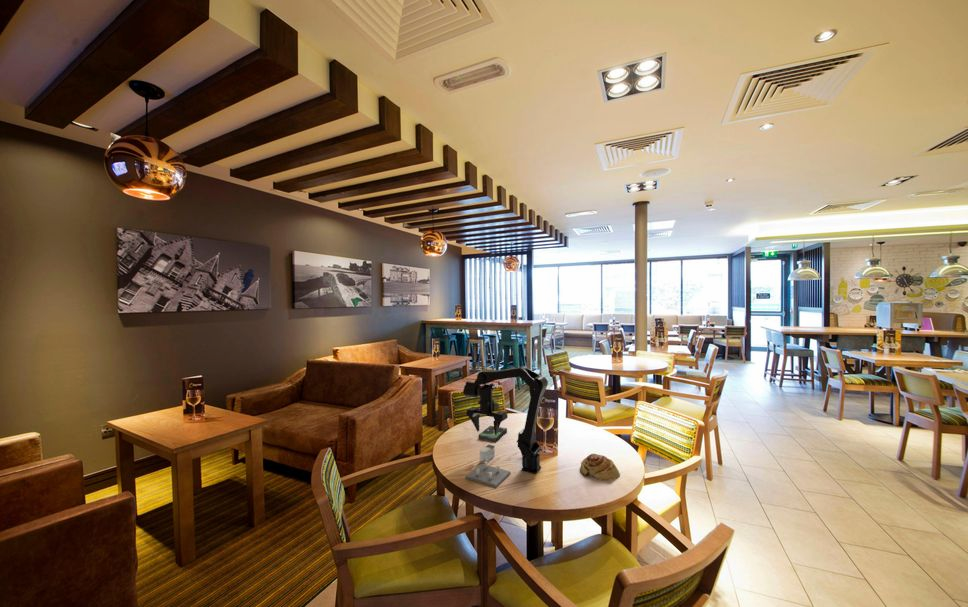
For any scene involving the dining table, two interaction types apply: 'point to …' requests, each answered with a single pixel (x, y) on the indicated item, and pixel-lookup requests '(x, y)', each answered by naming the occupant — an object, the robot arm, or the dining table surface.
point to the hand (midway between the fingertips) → (487, 432)
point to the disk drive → (492, 434)
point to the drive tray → (488, 475)
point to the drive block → (487, 453)
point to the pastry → (599, 467)
